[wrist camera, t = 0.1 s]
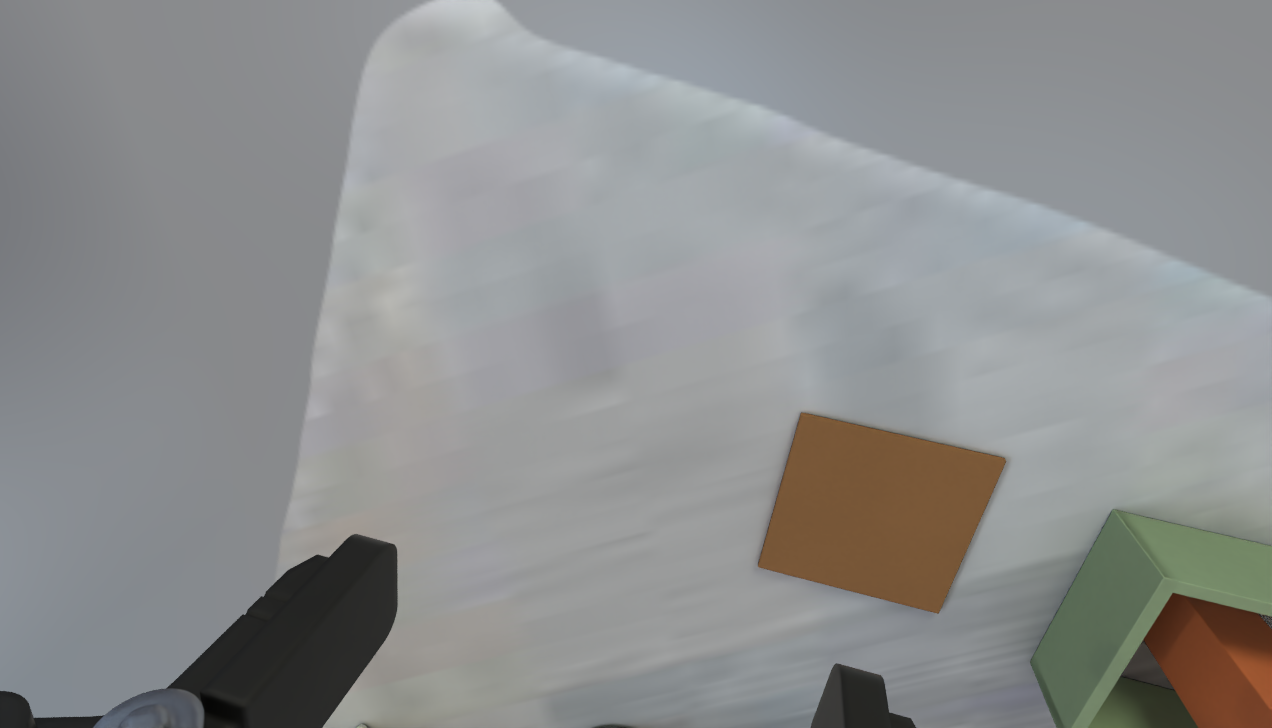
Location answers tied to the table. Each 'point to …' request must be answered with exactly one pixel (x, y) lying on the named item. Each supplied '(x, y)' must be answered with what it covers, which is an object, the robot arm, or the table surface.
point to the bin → (1138, 617)
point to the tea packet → (1215, 661)
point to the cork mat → (877, 511)
